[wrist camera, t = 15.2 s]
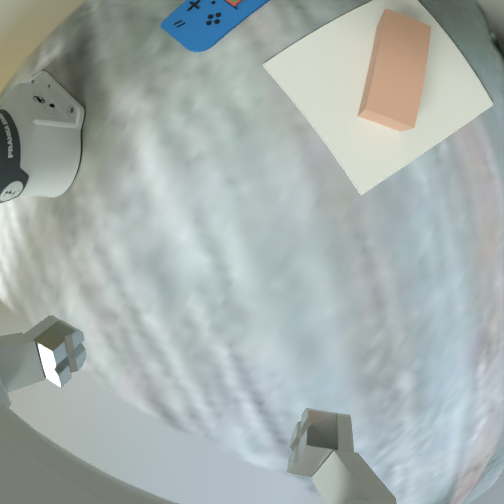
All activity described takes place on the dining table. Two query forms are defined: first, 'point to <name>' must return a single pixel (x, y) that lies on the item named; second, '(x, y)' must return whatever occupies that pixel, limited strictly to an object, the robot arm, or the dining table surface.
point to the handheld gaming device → (207, 21)
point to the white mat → (352, 86)
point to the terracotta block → (396, 72)
